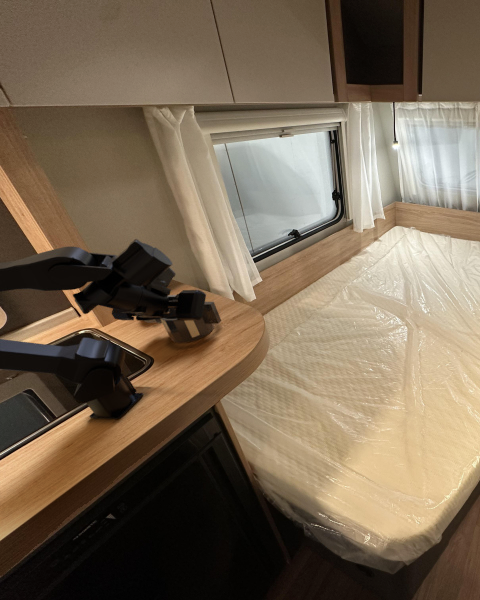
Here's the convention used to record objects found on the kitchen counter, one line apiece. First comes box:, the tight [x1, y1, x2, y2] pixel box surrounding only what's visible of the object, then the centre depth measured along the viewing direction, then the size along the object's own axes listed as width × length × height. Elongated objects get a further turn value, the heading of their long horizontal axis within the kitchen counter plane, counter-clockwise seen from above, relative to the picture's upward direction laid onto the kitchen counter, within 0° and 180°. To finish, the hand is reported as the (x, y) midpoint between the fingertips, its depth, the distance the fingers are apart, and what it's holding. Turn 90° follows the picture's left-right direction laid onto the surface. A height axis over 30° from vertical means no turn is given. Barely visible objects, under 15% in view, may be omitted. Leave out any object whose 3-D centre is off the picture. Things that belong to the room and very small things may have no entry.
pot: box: [155, 301, 222, 344], centre depth 84 cm, size 11×18×9 cm, turn 86°
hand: (188, 313), depth 75 cm, fingers open, 5 cm apart
